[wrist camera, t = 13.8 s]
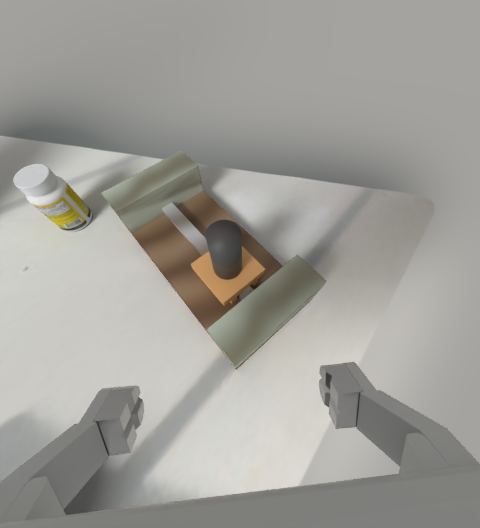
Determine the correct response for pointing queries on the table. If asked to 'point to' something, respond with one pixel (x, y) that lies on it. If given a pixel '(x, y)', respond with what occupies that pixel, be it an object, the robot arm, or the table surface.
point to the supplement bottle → (53, 197)
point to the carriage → (227, 262)
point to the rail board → (195, 245)
